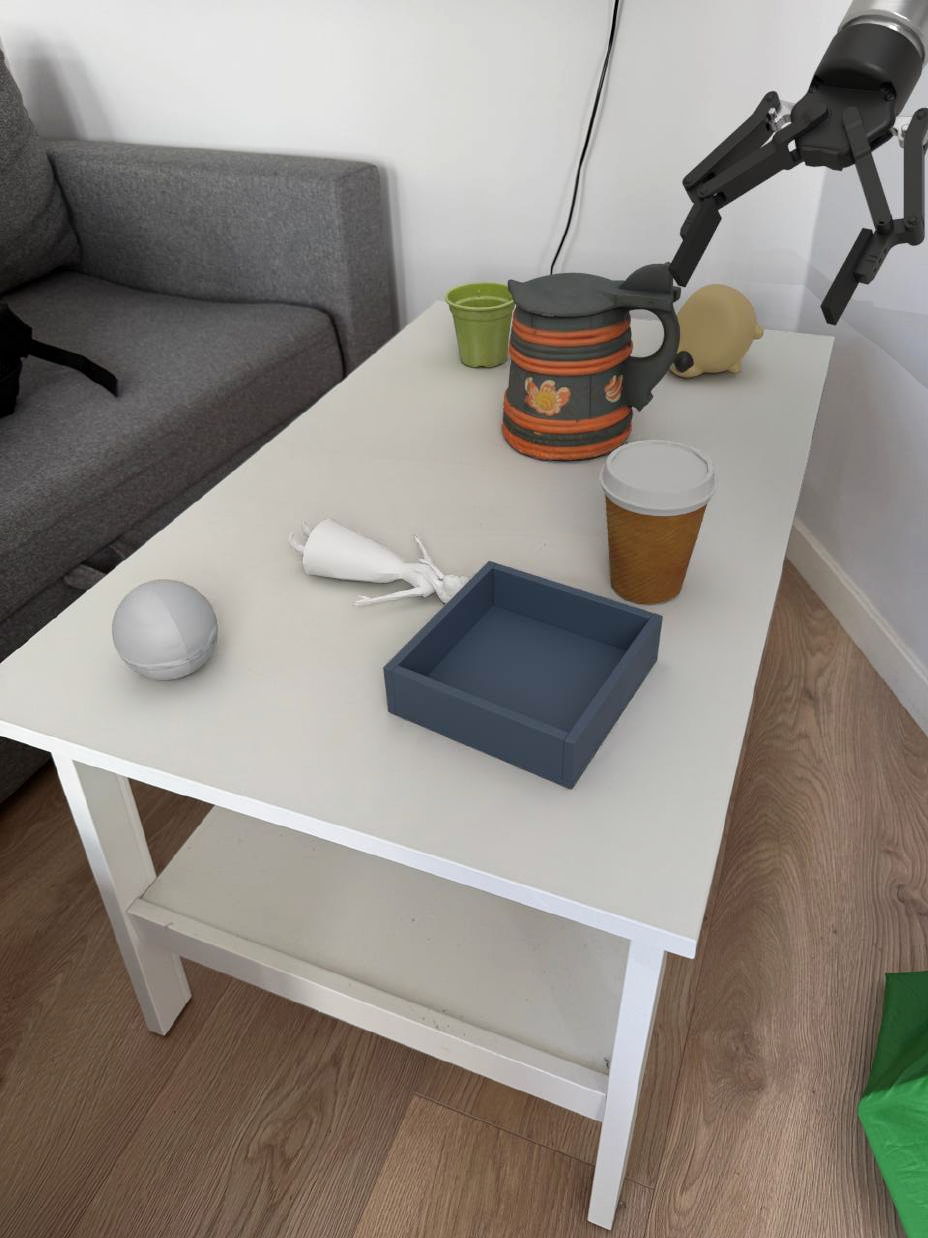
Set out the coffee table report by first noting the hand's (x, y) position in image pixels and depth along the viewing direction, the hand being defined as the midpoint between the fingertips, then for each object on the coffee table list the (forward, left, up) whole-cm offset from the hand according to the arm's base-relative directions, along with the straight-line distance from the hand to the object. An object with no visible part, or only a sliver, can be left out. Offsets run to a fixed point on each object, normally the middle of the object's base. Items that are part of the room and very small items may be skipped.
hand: (748, 296), depth 73 cm
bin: (+5, +28, -23) cm, 36 cm away
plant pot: (+40, -25, -23) cm, 53 cm away
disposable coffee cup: (+2, +11, -23) cm, 25 cm away
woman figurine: (+23, +22, -23) cm, 39 cm away
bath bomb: (+31, +40, -23) cm, 55 cm away
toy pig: (+13, -35, -23) cm, 44 cm away
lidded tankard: (+19, -12, -23) cm, 32 cm away
